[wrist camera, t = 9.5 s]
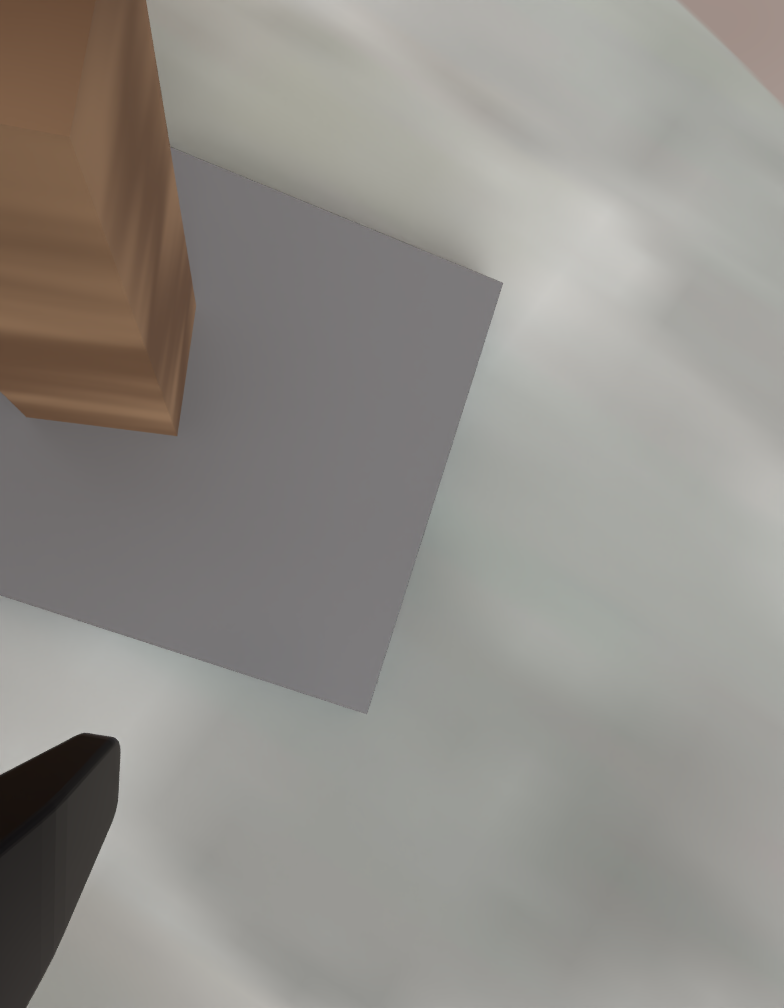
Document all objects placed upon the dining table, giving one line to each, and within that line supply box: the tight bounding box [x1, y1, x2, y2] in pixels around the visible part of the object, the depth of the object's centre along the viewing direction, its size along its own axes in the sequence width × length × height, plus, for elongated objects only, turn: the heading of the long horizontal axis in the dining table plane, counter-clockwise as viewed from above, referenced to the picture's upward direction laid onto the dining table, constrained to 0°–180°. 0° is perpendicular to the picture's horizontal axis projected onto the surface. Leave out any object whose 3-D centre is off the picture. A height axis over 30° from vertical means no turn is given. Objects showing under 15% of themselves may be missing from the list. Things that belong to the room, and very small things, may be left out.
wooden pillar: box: [0, 0, 196, 436], centre depth 14 cm, size 4×4×12 cm
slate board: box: [0, 147, 503, 714], centre depth 21 cm, size 20×14×1 cm
